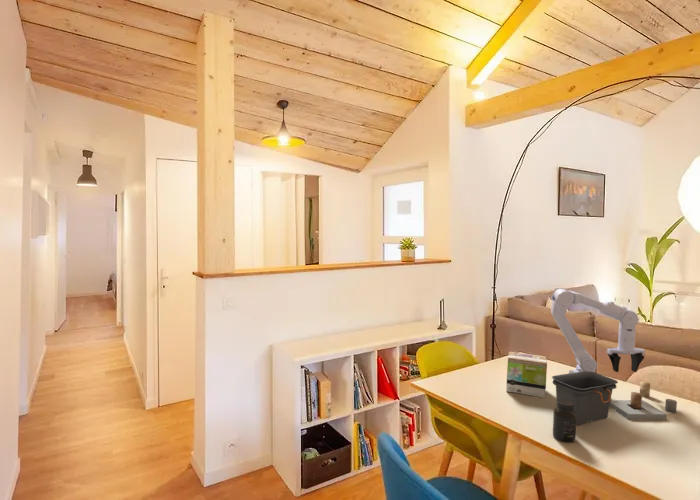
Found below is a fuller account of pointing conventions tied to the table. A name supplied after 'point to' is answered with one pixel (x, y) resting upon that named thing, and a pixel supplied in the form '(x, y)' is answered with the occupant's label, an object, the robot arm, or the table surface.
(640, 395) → the long dowel
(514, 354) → the tea box
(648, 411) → the hole board
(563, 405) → the supplement bottle
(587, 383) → the storage bin
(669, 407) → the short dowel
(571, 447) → the table surface
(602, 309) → the robot arm
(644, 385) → the medium dowel
